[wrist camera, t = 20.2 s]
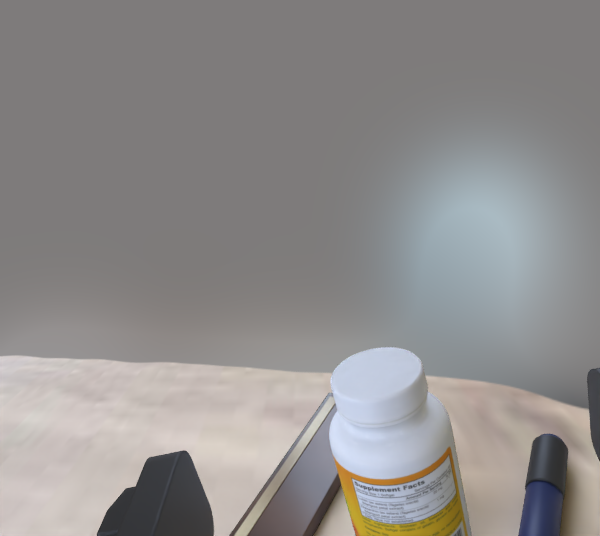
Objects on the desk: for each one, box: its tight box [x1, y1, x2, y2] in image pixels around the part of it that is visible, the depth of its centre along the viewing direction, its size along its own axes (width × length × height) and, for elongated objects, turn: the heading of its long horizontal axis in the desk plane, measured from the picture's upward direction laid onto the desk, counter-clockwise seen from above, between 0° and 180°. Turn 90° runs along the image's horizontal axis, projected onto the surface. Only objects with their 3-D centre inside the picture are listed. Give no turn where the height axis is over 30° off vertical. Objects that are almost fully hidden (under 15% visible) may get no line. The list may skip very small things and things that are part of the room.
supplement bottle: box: [329, 347, 471, 536], centre depth 24 cm, size 5×5×10 cm
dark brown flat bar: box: [229, 393, 341, 536], centre depth 30 cm, size 17×4×1 cm, turn 152°
